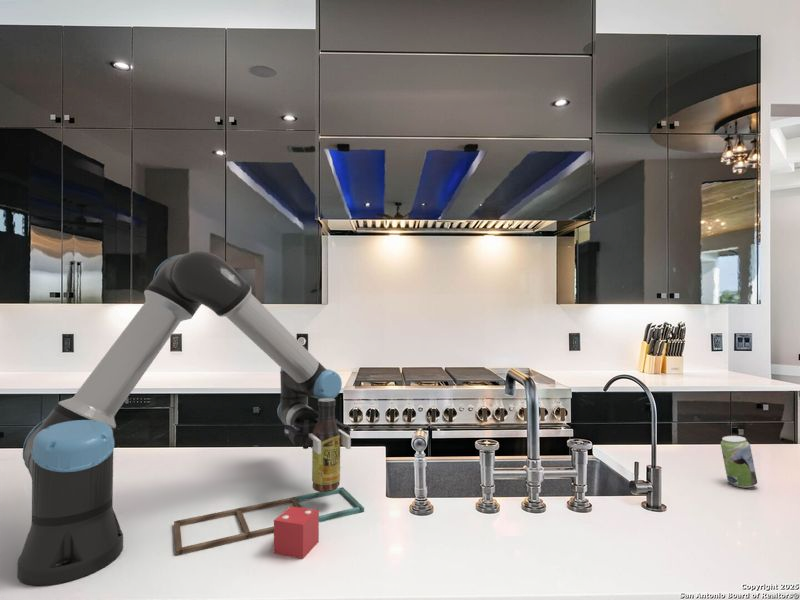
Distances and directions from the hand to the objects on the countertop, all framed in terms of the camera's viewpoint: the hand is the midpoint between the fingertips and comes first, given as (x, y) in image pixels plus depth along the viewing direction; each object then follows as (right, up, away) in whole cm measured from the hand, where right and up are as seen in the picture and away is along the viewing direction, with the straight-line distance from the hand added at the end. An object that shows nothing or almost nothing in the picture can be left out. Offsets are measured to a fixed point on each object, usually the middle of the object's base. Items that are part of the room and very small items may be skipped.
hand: (334, 445), depth 97 cm
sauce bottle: (-2, -11, +4) cm, 12 cm away
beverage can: (+100, -15, +16) cm, 102 cm away
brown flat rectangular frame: (-13, -15, -2) cm, 20 cm away
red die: (-5, -15, -13) cm, 21 cm away
